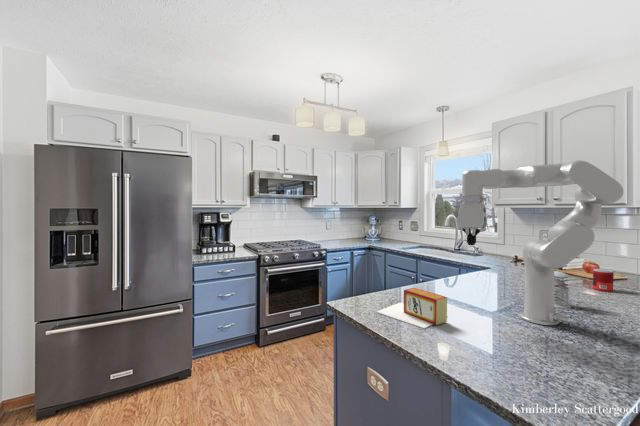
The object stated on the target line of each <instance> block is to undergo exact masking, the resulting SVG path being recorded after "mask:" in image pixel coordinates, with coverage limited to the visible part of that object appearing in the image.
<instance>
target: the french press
mask: <svg viewBox="0 0 640 426" xmlns="http://www.w3.org/2000/svg"><path fill="white" fill-rule="evenodd" d="M554 274H555V278H564V279H565V278H569V277H570V275H569V274H568V273H565V272H562V271H560V270H554ZM554 308H561V309H571V308H572V306H571V304H569V287H568V283H565V282H560V281H559V280H556V281H555V288H554Z"/></svg>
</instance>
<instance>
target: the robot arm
mask: <svg viewBox="0 0 640 426" xmlns="http://www.w3.org/2000/svg"><path fill="white" fill-rule="evenodd" d="M461 177H462V178H461V181H462V183H461V203H460V204H459V208H458V213H457V215H458V216H457V229H458V230H459V231H462V232H464V233H465V236H466V243H467V245H468V246H475V245H476V244H477V236H478V235H479V233H482V232H483V233H484V232H486V231H487V228H486V227H488V219H487V218H488V215H487V208H486V204H485V203H484V202H486V201H487V197H484V196H483V195H484V194H483V189H484V190H491V189H492V190H493V189H495V190H497V189H511V188H541V187H557V186H568V185H569V186H570V185H577V186H578V187H576V190H575V192H574V199H575V206H574V208H573V210H572V211H570V212H569V213H568V214H567V215H566V216H565V217H563V218H562V219H561V220H560V221H558V222H557V223H555V224H554V225H553V226H551V228H550V229H548V233H547V238H548V240H549V241H547V240H542V239H535V240H530V241H528V242H527V243H526V244H525V245H524V247H523V249H522V257H523V258H522V259H523V264H524V265H523V266H524V289H523V290H524V292H523V293H524V295H523V296H524V297H523V300H524V302H523V310H522V311H520V312H519V314H518V315H519V317H520V318H521V319H522V320H524V321H527V322H529V323H532V324H537V325H542V326H557V325H559V324H560V322H564V323H569V321H570V320H569V317H567V315H565V314H564V315H563V314H559V313H558V312H557V310H556V309H555V307H554V294H555V293H554V288H556V287H555V282H556V277H555V274H554V271H555V270H558V269H561V268H563V267H565V266H567V265H568V264H569V263H571V262H572V261H573V260H575V259H576V258H578V257H579V256H580V255H582V254H583V253H584V252H585V251H587V250H588V249H589V248H590V247H591V246H592V245H593V243H594V241H595V236H596V235H595V232H594V230H593V228H594V227H595V226H596V225H597V224H598V223H599V222H600V220H601V219H602V205H608V204H614V203H616V202H617V203H618V202H619V200H621V198H623V195H624V188H623V186H622V184H621V183H620V182H619V181H618V180H617V179H615V178H613V177H612V176H611V175H609V174H608V173H606V172H605V171H603V170H602V169H600V168H598V167H597V166H595V165H594V164H592V163H590V162H588V161H586V160H574V161H571V162H565V163H552V164H538V165H537V164H536V165H528V166H523V167H519V168H514V169H507V170H503V169H500V168H492V169H484V170H478V169H469V170H465V171H463V173H462V175H461Z"/></svg>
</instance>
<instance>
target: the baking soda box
mask: <svg viewBox="0 0 640 426" xmlns="http://www.w3.org/2000/svg"><path fill="white" fill-rule="evenodd" d="M403 303H404V313H406V314H409V315H411V316H414V317H417V318H419V319H422V320H424V321H427V322H429V323H432V324H433V325H434V326H437V325H441V324H444V323H447V322H448V297H447V296H444V295H441V294H438V293H437V294H436V293H434V292H430V291H428V290H423V289H419V288H417V287H411V288H406V289H404V290H403Z"/></svg>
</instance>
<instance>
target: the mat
mask: <svg viewBox="0 0 640 426" xmlns="http://www.w3.org/2000/svg"><path fill="white" fill-rule="evenodd" d="M375 313H377V314H380V315H381V316H385V317H388V318H392V319H395V320H397V321H400V322H403V323H405V324H408V325H412V326H413V327H417V328H419V329H422V330H423V329H424V330H425V329H427V328H430V327H431V326H433V325H434V324H432V323H429V322H427V321H424V320H422V319H419V318H417V317H414V316H411V315H409V314H406V313H404V302H398V303H396V304H395V303H394V304H393V305H390V306H388V307H384V308H382V309H379V310H377V311H375Z"/></svg>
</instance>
